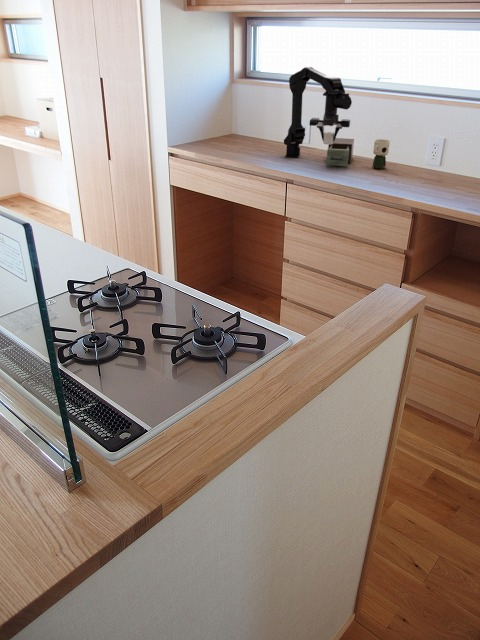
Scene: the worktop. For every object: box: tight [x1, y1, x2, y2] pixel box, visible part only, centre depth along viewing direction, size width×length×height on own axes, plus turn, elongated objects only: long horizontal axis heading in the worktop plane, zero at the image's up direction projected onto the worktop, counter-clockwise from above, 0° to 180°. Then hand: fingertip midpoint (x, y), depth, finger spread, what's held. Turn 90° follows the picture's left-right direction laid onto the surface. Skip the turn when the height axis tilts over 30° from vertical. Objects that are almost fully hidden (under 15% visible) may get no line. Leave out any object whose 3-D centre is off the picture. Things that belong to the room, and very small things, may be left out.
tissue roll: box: [322, 131, 335, 145], centre depth 261 cm, size 5×5×5 cm
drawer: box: [325, 145, 350, 167], centre depth 266 cm, size 17×10×8 cm, turn 166°
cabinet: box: [327, 137, 355, 165], centre depth 277 cm, size 14×12×10 cm
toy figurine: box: [372, 138, 391, 170], centre depth 262 cm, size 11×7×13 cm, turn 132°
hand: (328, 141), depth 262 cm, fingers closed on tissue roll, 5 cm apart
